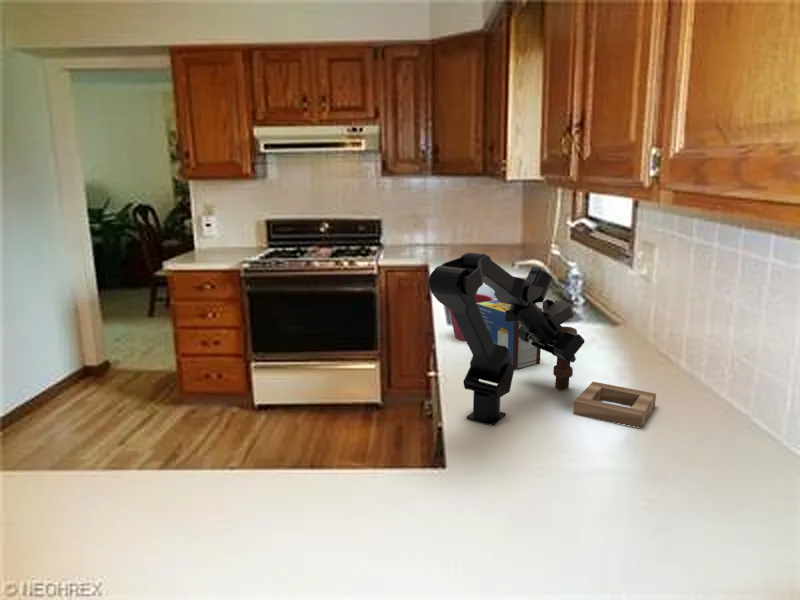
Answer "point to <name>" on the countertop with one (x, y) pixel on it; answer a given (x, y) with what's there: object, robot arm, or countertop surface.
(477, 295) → the plant pot
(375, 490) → the countertop surface
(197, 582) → the countertop surface
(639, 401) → the block
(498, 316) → the protein box
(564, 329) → the bolt
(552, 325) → the robot arm
